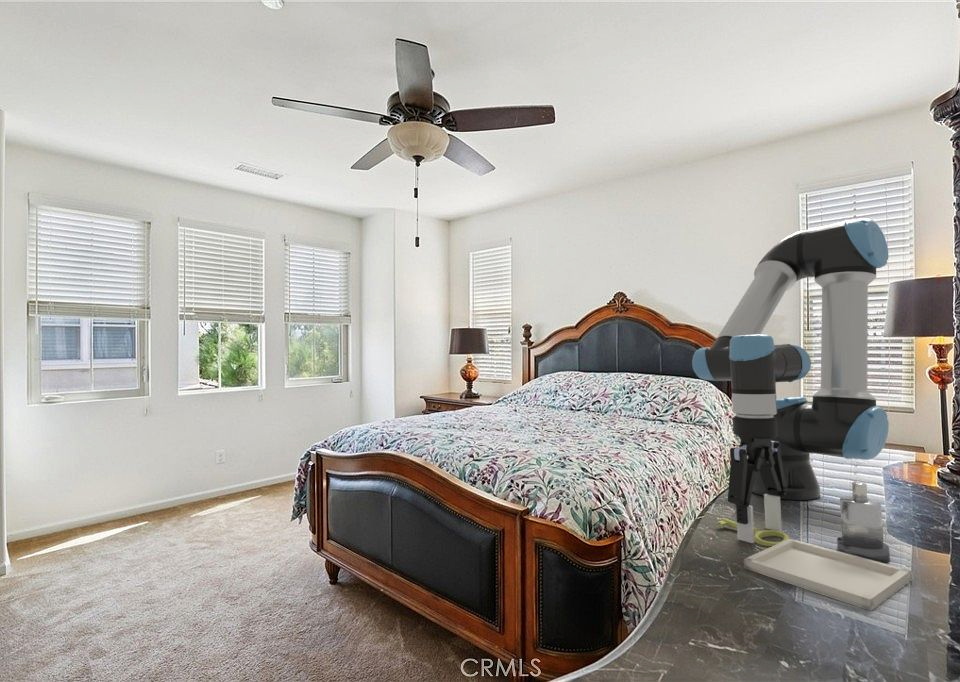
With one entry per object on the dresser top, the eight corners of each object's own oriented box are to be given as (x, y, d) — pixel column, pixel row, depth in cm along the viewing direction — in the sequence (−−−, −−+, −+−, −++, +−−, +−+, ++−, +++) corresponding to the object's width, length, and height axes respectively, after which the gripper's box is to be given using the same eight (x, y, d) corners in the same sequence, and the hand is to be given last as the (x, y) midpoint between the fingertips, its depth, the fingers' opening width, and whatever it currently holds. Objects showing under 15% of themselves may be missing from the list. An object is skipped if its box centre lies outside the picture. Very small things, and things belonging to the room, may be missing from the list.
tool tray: (790, 546, 89) (789, 538, 89) (911, 580, 75) (911, 570, 75) (744, 568, 81) (743, 559, 81) (871, 610, 67) (870, 599, 67)
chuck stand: (848, 544, 89) (844, 476, 90) (896, 556, 84) (892, 484, 84) (830, 553, 86) (826, 482, 86) (880, 567, 80) (875, 491, 80)
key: (721, 527, 101) (720, 516, 101) (792, 540, 93) (791, 528, 94) (710, 537, 96) (710, 526, 96) (785, 552, 88) (784, 540, 88)
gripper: (764, 409, 105) (769, 518, 104) (702, 418, 93) (707, 542, 92) (803, 412, 99) (809, 528, 98) (742, 422, 86) (748, 554, 86)
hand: (760, 534), depth 95 cm, fingers open, 9 cm apart
